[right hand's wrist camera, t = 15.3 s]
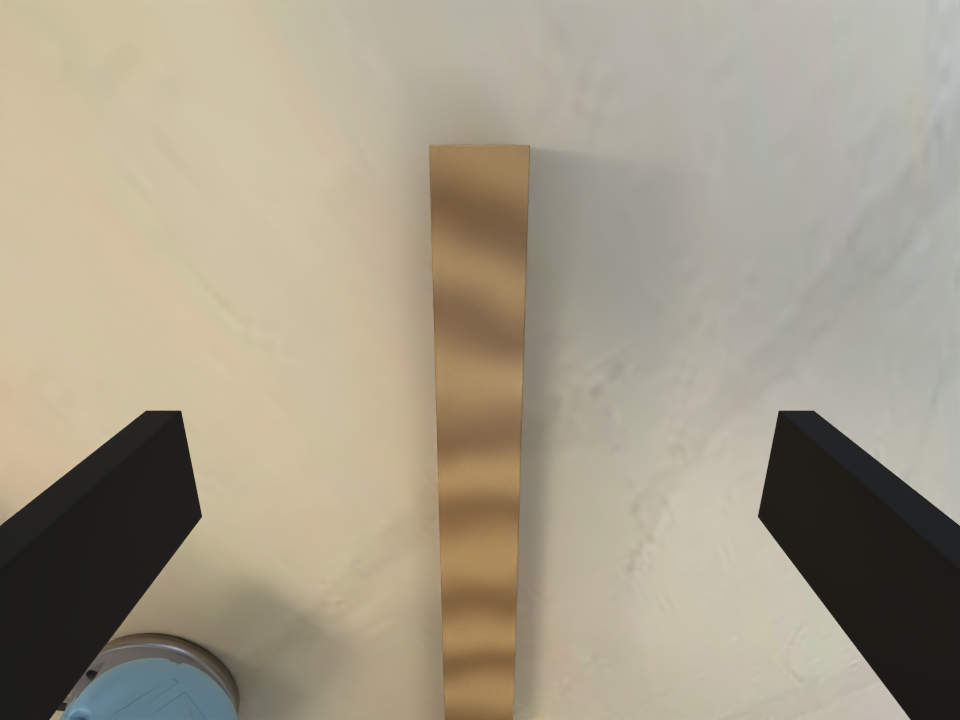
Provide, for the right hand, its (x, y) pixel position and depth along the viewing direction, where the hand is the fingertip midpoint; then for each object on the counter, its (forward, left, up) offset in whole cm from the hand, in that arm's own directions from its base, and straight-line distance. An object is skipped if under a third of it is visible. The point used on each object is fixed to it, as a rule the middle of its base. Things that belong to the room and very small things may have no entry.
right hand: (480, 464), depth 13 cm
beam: (+8, -24, -31) cm, 41 cm away
